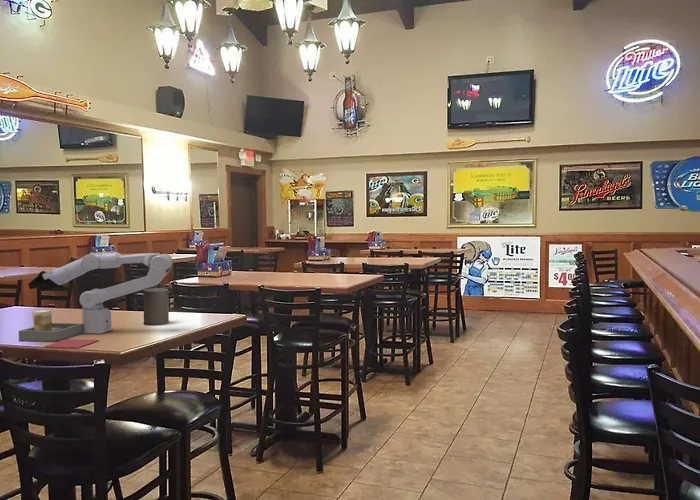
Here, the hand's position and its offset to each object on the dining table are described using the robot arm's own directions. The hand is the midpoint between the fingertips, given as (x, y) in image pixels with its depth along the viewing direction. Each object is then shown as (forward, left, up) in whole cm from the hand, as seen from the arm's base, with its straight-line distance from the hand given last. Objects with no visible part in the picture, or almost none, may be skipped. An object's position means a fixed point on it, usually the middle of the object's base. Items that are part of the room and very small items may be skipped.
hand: (35, 287), depth 220 cm
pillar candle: (-35, -24, -17) cm, 46 cm away
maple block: (-7, +7, -15) cm, 18 cm away
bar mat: (-26, +18, -17) cm, 36 cm away
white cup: (+3, -7, -17) cm, 19 cm away
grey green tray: (-11, +7, -17) cm, 21 cm away
